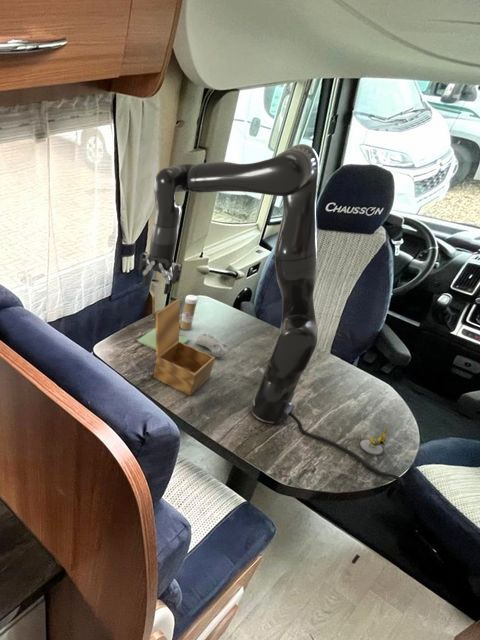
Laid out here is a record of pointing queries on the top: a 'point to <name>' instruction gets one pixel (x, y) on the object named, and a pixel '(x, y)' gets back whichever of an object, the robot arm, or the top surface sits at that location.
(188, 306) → the sprinkles bottle
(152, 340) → the pad
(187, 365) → the chest
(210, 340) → the decorative stone
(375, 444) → the figurine
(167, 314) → the chest lid
